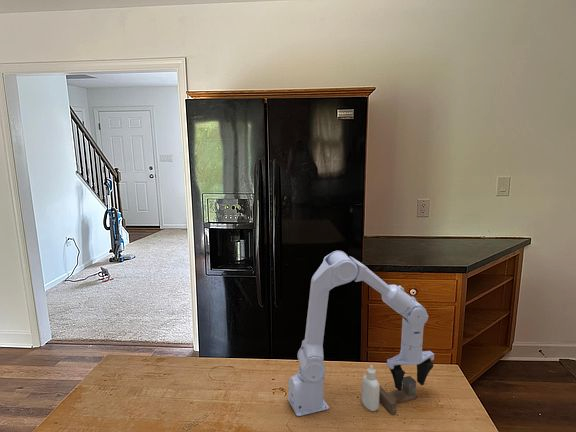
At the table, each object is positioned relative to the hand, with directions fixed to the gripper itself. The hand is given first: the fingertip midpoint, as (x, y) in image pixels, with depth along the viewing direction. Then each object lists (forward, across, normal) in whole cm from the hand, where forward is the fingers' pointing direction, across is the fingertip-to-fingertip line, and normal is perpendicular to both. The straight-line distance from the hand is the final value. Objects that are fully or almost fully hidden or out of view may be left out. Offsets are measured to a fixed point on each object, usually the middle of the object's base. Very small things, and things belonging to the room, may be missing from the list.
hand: (409, 386), depth 111 cm
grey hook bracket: (+3, +4, 0) cm, 5 cm away
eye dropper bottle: (+3, +13, 0) cm, 13 cm away
